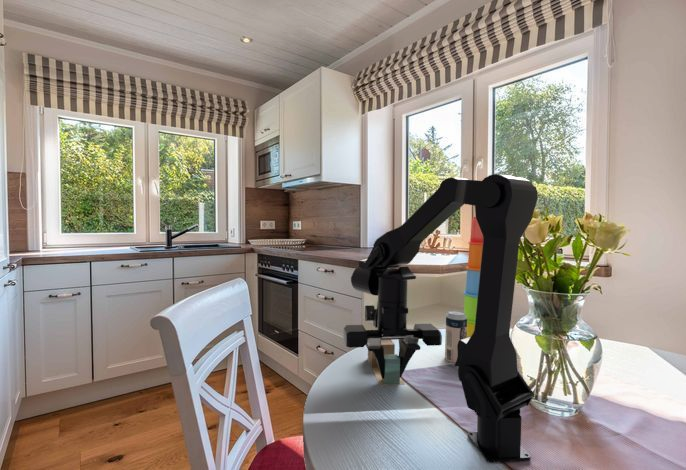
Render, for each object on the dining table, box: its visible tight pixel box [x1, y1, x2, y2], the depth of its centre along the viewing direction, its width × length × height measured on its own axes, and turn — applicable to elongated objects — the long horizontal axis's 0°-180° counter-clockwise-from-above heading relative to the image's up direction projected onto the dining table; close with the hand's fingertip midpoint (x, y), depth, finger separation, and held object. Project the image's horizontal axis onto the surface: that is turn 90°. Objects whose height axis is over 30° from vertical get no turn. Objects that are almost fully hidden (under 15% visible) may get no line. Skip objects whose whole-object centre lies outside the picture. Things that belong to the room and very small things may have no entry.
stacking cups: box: [462, 216, 483, 338], centre depth 95 cm, size 10×10×35 cm
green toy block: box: [367, 353, 406, 386], centre depth 78 cm, size 14×5×6 cm, turn 6°
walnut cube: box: [367, 340, 396, 369], centre depth 81 cm, size 5×5×5 cm
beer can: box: [444, 310, 467, 364], centre depth 84 cm, size 5×5×12 cm
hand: (390, 377), depth 72 cm, fingers closed on green toy block, 3 cm apart
